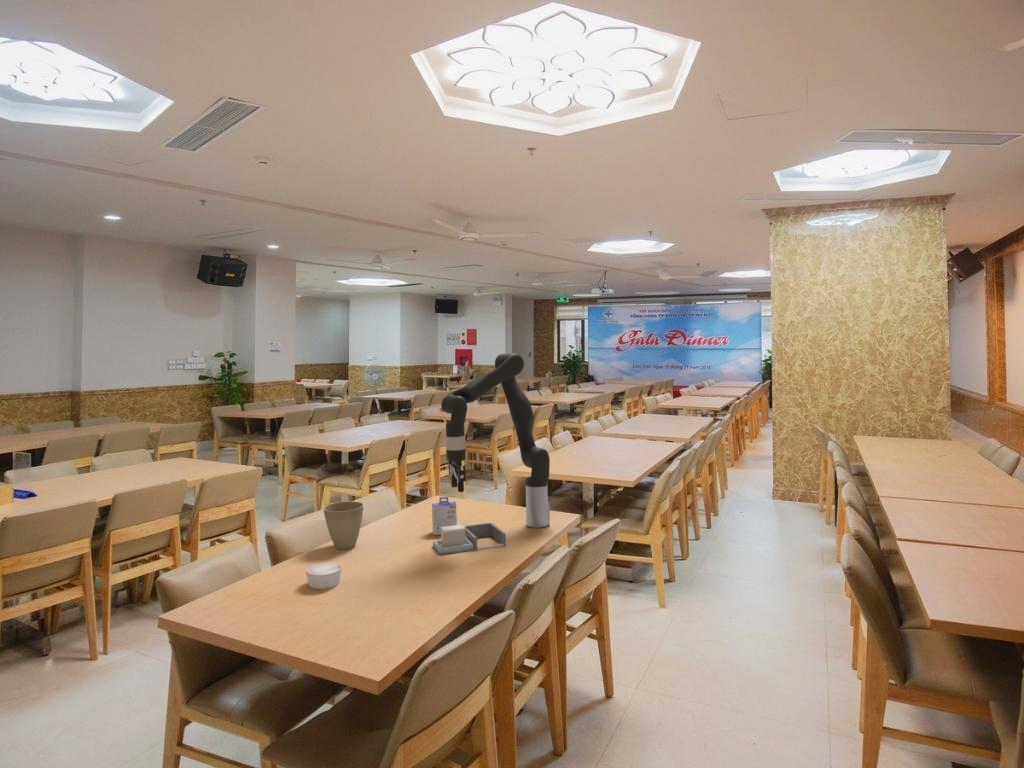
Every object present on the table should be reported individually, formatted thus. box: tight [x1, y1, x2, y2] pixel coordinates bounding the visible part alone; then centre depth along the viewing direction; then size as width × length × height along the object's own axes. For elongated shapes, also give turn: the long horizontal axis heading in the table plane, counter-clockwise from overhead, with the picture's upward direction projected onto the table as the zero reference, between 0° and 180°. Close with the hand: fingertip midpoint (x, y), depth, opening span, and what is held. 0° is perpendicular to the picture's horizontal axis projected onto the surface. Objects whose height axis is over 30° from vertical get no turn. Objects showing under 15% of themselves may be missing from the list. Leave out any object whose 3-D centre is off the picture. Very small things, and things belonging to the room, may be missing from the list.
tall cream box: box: [440, 524, 465, 547], centre depth 223 cm, size 8×5×7 cm, turn 112°
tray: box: [432, 536, 475, 556], centre depth 223 cm, size 13×10×2 cm
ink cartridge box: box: [431, 496, 458, 536], centre depth 242 cm, size 10×6×14 cm, turn 98°
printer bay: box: [463, 522, 507, 551], centre depth 230 cm, size 13×15×5 cm
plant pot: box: [322, 500, 364, 551], centre depth 226 cm, size 15×15×16 cm
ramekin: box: [305, 561, 343, 590], centre depth 191 cm, size 11×11×5 cm
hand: (457, 489), depth 225 cm, fingers open, 8 cm apart
